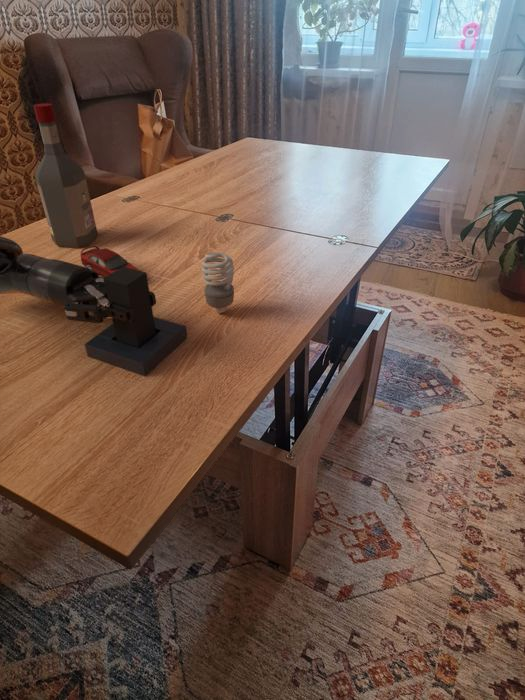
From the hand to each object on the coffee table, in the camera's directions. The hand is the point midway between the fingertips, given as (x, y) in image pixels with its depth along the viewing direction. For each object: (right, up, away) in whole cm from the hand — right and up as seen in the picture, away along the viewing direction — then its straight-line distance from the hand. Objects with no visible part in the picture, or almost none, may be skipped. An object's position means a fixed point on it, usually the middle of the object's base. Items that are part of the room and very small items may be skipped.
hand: (143, 307), depth 75 cm
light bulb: (+11, 0, +15) cm, 18 cm away
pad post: (-2, -5, +5) cm, 7 cm away
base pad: (-2, -6, +6) cm, 9 cm away
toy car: (-13, +9, +27) cm, 32 cm away
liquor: (-27, +20, +42) cm, 54 cm away
